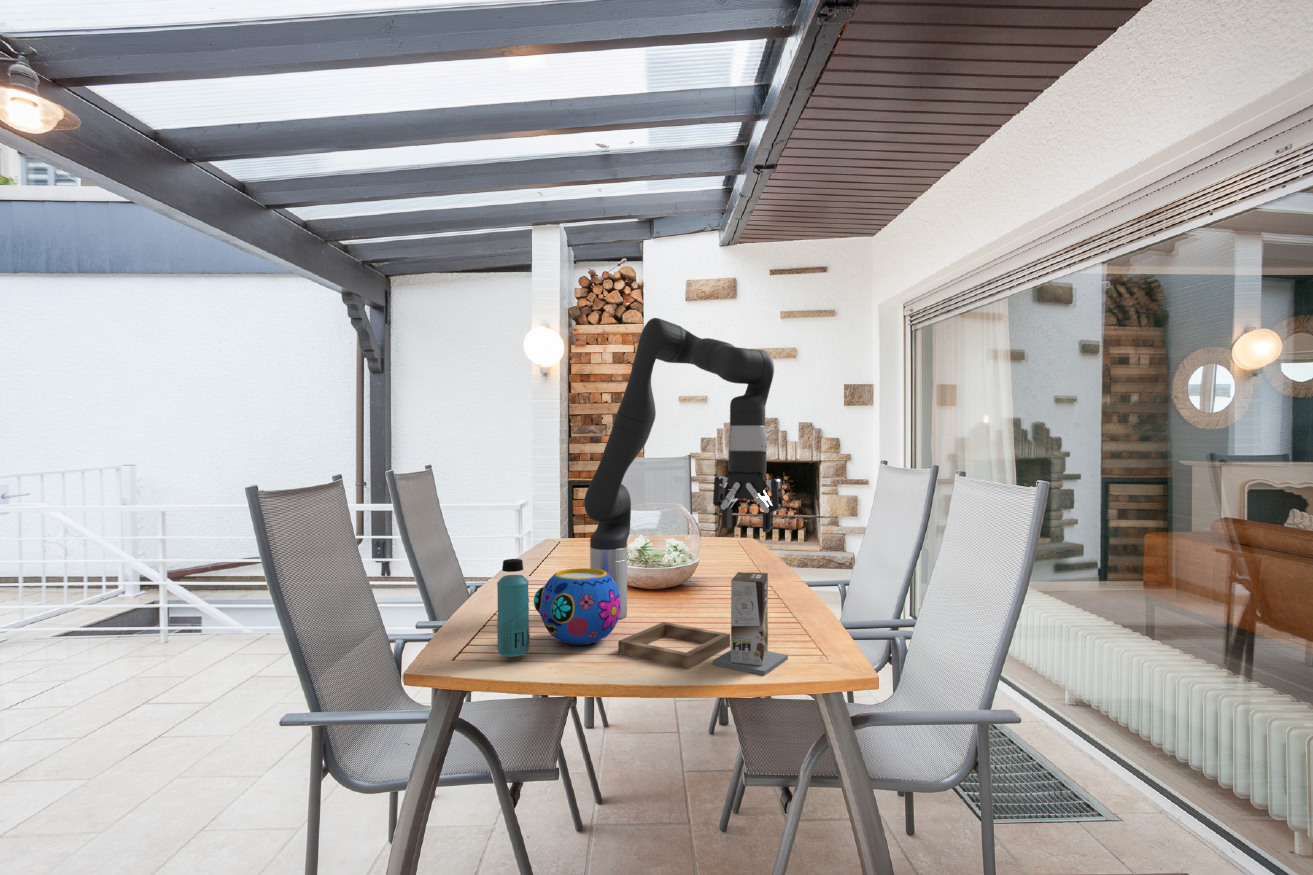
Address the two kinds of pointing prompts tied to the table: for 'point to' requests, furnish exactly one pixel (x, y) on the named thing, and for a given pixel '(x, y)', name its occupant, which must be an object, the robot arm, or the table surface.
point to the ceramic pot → (579, 605)
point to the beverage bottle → (513, 611)
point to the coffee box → (749, 618)
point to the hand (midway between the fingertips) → (747, 529)
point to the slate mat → (768, 665)
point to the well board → (641, 649)
